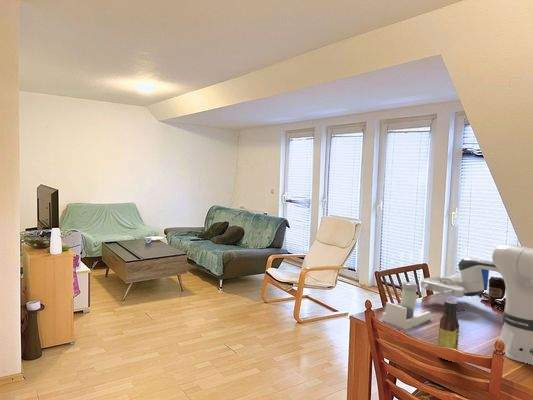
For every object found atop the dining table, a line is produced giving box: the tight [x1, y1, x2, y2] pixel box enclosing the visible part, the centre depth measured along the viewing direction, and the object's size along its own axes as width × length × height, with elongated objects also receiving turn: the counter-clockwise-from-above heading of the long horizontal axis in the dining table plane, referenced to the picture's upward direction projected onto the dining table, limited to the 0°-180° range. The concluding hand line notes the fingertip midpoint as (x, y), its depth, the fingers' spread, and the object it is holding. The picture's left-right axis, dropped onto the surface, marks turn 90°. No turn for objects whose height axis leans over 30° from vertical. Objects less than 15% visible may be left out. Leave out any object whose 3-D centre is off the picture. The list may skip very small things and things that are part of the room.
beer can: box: [482, 269, 490, 291], centre depth 219 cm, size 8×8×16 cm
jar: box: [400, 281, 418, 317], centre depth 169 cm, size 6×6×16 cm
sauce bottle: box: [437, 299, 460, 351], centre depth 135 cm, size 7×6×20 cm
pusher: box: [395, 303, 413, 320], centre depth 166 cm, size 8×4×6 cm, turn 41°
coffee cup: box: [488, 276, 506, 304], centre depth 201 cm, size 9×8×13 cm
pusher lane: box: [381, 301, 431, 331], centre depth 169 cm, size 11×20×8 cm, turn 131°
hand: (434, 290), depth 185 cm, fingers open, 8 cm apart
